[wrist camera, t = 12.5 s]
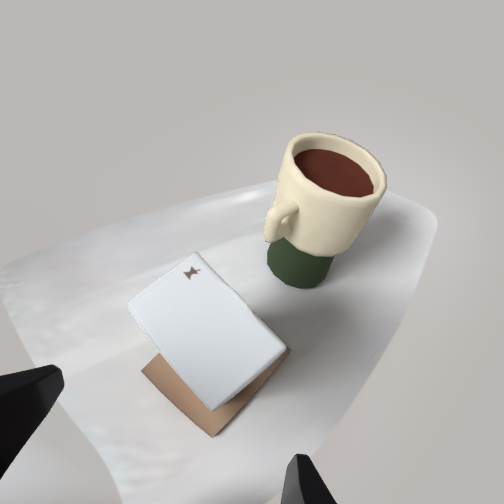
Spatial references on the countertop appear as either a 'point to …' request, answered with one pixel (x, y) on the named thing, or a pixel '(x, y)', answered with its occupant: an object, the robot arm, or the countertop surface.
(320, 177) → the character mug
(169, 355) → the skincare box
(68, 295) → the countertop surface
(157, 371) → the curved brown sheet
